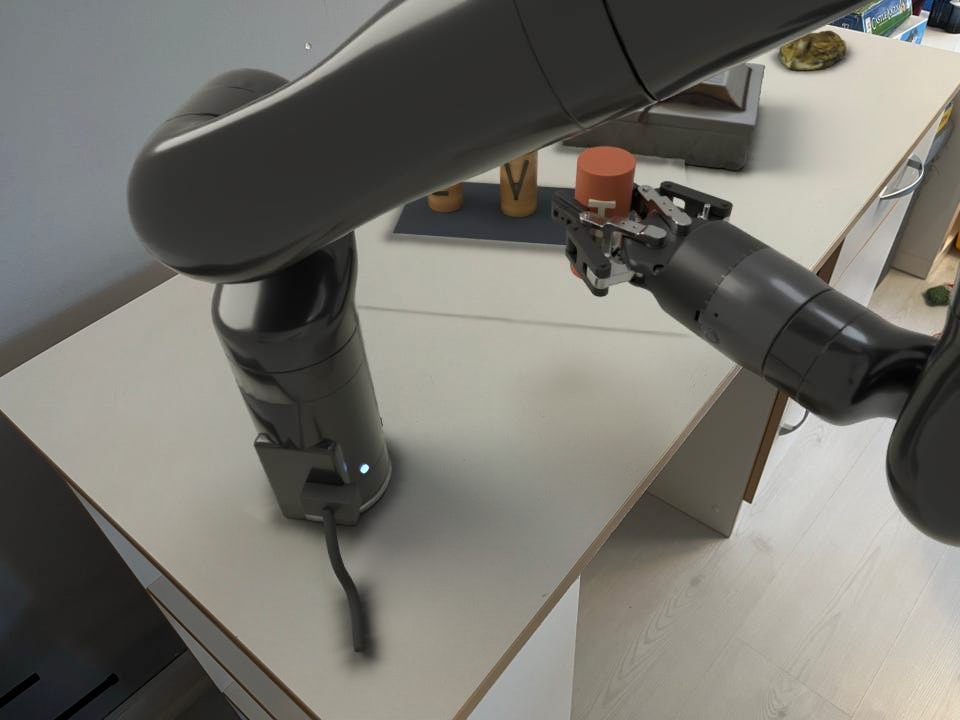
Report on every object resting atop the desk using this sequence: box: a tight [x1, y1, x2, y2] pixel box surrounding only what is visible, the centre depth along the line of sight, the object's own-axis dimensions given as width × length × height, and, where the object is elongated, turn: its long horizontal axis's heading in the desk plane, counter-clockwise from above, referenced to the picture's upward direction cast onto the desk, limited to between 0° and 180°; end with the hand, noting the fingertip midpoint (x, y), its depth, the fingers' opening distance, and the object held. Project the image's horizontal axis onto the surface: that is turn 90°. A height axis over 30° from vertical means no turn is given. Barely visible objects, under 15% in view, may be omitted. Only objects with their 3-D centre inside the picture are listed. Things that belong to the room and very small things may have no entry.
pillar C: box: [428, 181, 464, 212], centre depth 85 cm, size 4×4×10 cm
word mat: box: [392, 181, 637, 246], centre depth 86 cm, size 12×28×1 cm, turn 80°
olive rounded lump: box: [778, 30, 847, 71], centre depth 114 cm, size 9×5×15 cm
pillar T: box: [569, 146, 637, 280], centre depth 57 cm, size 4×4×10 cm
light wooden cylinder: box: [499, 150, 539, 217], centre depth 83 cm, size 5×4×10 cm
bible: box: [561, 62, 766, 171], centre depth 97 cm, size 23×27×10 cm
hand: (579, 191), depth 58 cm, fingers closed on pillar T, 4 cm apart
